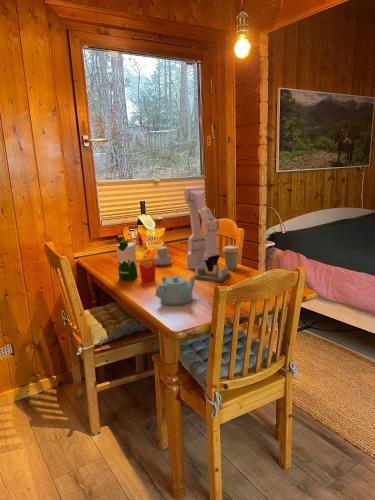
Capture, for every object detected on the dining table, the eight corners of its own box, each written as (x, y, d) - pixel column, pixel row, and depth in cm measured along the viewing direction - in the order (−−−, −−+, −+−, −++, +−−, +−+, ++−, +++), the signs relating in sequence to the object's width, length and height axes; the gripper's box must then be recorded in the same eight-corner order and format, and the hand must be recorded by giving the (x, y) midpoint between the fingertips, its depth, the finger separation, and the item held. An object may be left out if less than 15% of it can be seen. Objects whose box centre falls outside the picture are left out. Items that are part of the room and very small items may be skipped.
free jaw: (217, 278, 179) (217, 270, 178) (224, 273, 185) (224, 266, 184) (221, 278, 178) (221, 270, 177) (227, 274, 184) (227, 266, 183)
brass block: (205, 275, 185) (205, 264, 183) (208, 273, 188) (208, 262, 186) (216, 277, 182) (216, 265, 180) (219, 275, 185) (218, 263, 183)
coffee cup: (238, 270, 194) (238, 249, 191) (222, 270, 196) (222, 248, 192) (239, 266, 202) (239, 245, 199) (224, 265, 204) (224, 244, 201)
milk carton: (116, 280, 186) (113, 242, 181) (125, 275, 194) (122, 238, 189) (132, 281, 183) (129, 243, 178) (140, 276, 191) (137, 238, 186)
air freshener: (167, 267, 205) (167, 250, 202) (153, 267, 206) (152, 250, 204) (172, 261, 215) (171, 245, 213) (158, 261, 217) (157, 245, 214)
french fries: (141, 283, 180) (139, 259, 177) (139, 280, 184) (138, 257, 181) (158, 280, 183) (156, 257, 180) (155, 278, 187) (154, 255, 184)
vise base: (192, 278, 184) (192, 268, 183) (202, 272, 193) (202, 262, 192) (222, 283, 177) (221, 272, 175) (230, 276, 186) (230, 265, 184)
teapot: (163, 293, 166) (162, 270, 164) (196, 294, 164) (195, 271, 161) (155, 306, 152) (153, 282, 149) (190, 308, 149) (189, 283, 147)
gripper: (212, 248, 173) (212, 275, 176) (224, 241, 185) (225, 267, 188) (199, 246, 176) (199, 273, 179) (212, 240, 188) (212, 265, 192)
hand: (211, 270), depth 184 cm, fingers closed on brass block, 3 cm apart
